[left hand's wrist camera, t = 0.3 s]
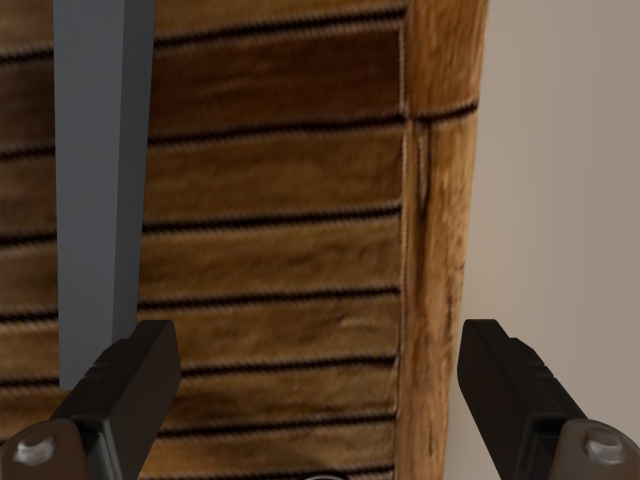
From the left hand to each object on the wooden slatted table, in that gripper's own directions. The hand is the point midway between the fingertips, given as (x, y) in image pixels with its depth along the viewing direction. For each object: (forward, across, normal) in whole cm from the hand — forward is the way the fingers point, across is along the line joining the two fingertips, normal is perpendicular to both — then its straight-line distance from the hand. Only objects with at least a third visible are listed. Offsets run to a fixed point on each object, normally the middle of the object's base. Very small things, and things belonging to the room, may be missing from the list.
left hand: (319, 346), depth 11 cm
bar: (+29, -16, +12) cm, 35 cm away
